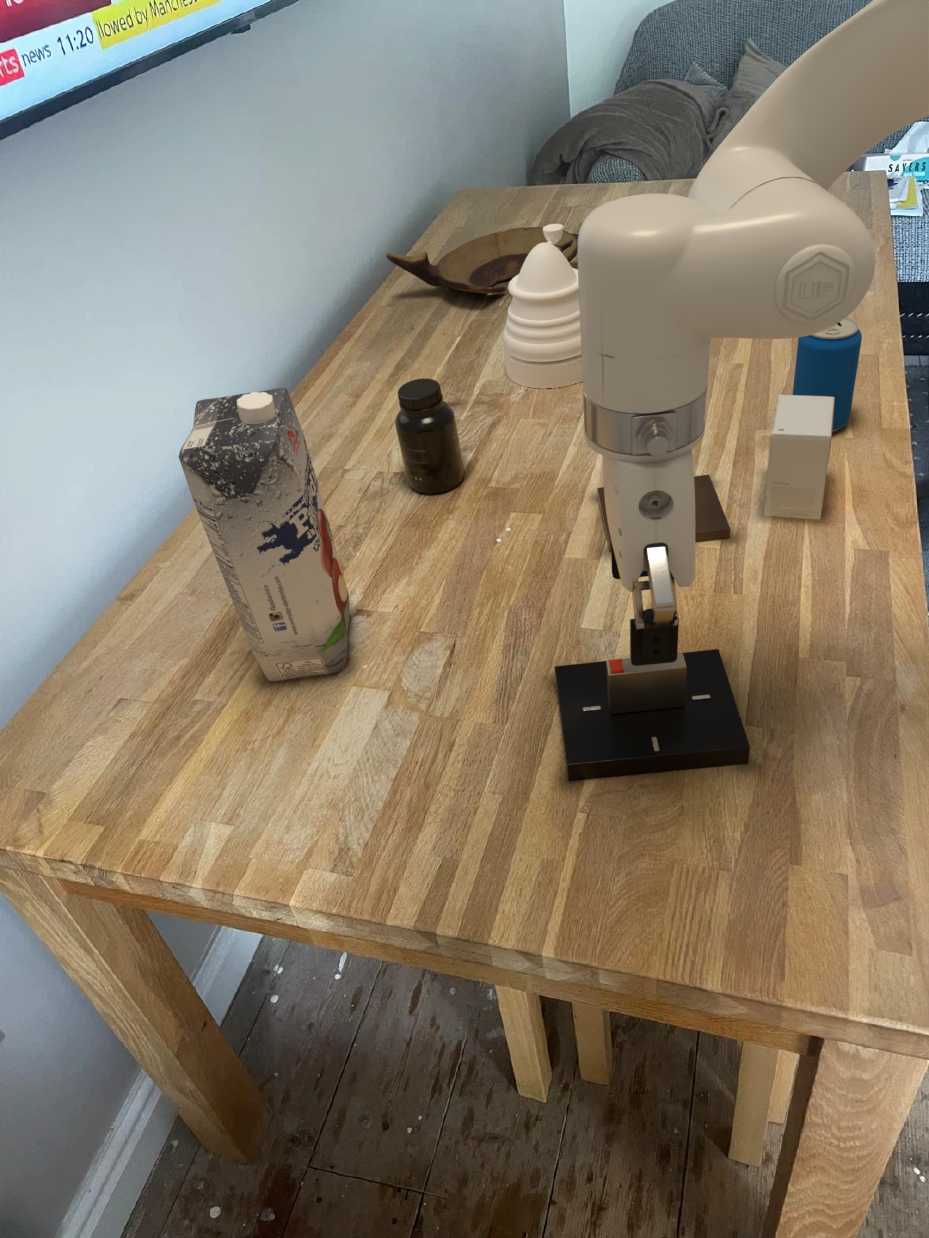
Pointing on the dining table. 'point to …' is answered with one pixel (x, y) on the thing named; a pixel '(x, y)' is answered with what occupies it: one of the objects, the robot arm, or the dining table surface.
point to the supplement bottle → (428, 438)
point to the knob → (645, 685)
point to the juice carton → (269, 531)
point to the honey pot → (544, 319)
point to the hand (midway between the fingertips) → (642, 616)
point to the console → (649, 724)
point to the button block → (707, 512)
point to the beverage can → (830, 366)
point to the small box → (799, 456)
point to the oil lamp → (483, 260)
